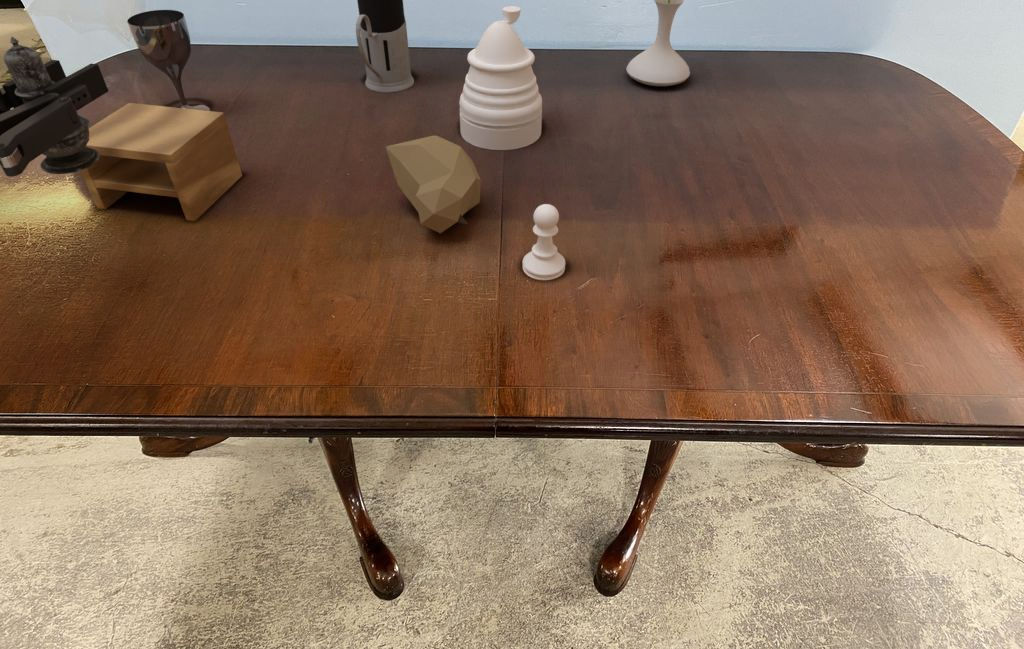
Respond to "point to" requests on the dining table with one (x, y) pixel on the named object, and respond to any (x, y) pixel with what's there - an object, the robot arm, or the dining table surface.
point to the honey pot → (501, 90)
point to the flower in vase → (660, 53)
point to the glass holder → (384, 45)
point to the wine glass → (165, 45)
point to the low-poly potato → (436, 180)
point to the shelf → (162, 156)
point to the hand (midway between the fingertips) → (80, 75)
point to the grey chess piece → (30, 86)
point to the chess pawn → (544, 246)
